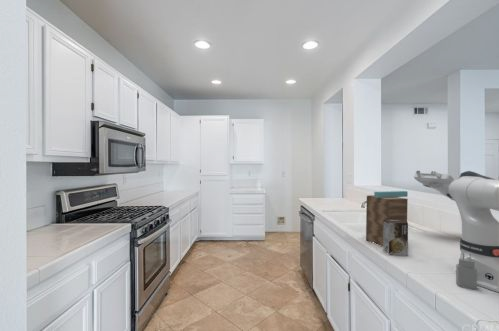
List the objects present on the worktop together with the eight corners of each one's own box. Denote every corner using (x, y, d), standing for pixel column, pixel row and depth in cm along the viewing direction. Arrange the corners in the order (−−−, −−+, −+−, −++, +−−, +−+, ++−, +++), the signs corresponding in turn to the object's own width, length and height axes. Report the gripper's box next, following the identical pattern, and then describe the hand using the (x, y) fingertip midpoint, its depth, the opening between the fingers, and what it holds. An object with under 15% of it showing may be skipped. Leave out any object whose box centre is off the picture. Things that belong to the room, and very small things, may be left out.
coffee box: (401, 251, 124) (401, 219, 124) (408, 256, 118) (408, 222, 118) (382, 250, 125) (383, 219, 125) (388, 255, 119) (389, 222, 119)
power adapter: (455, 282, 92) (456, 250, 92) (474, 286, 89) (475, 253, 89) (457, 286, 89) (458, 253, 89) (477, 290, 86) (478, 256, 86)
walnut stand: (406, 247, 131) (407, 198, 131) (389, 249, 127) (390, 199, 127) (382, 238, 146) (382, 195, 146) (365, 240, 142) (366, 195, 142)
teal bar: (407, 196, 139) (407, 191, 139) (378, 197, 133) (378, 192, 133) (402, 196, 142) (402, 190, 142) (374, 197, 136) (374, 191, 136)
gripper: (456, 189, 137) (440, 177, 133) (421, 185, 156) (406, 175, 153) (460, 179, 138) (445, 167, 134) (425, 177, 157) (410, 166, 153)
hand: (424, 171), depth 143 cm, fingers open, 8 cm apart
